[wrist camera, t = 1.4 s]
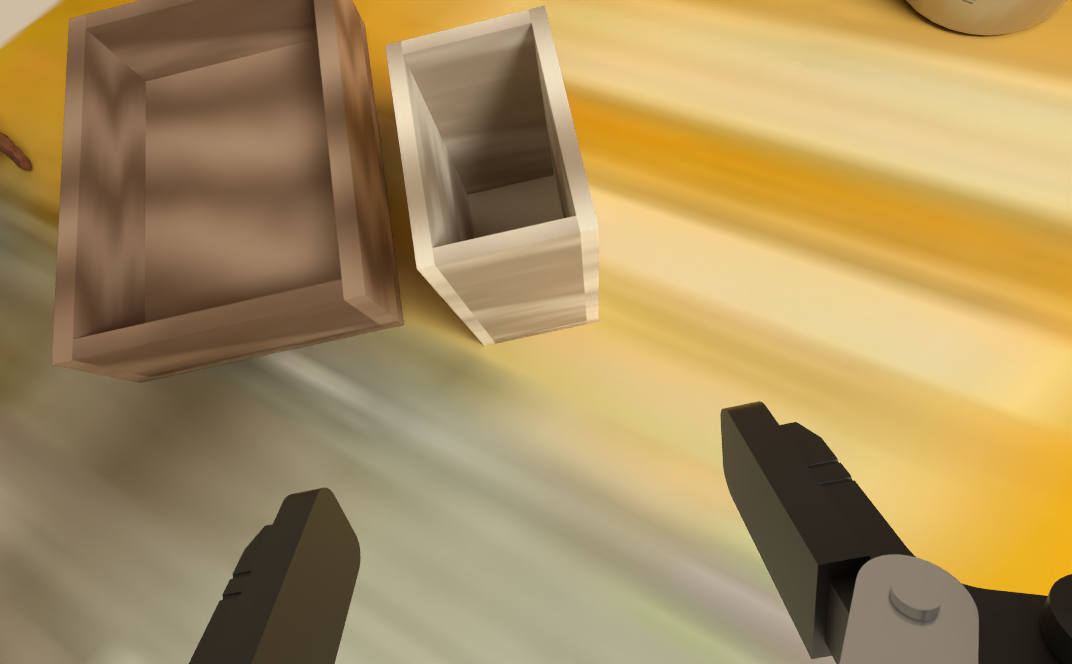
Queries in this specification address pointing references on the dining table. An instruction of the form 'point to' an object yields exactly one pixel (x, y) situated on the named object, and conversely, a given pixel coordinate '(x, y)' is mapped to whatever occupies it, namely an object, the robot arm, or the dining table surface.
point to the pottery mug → (14, 152)
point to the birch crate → (496, 177)
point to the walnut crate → (218, 186)
